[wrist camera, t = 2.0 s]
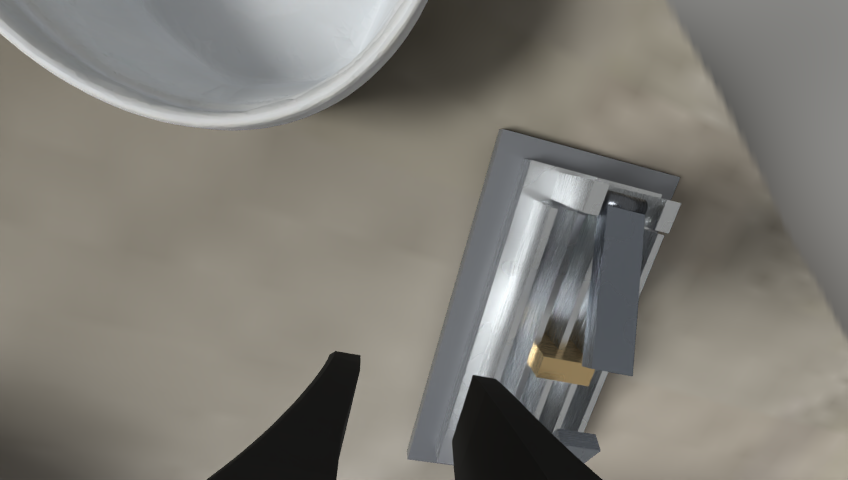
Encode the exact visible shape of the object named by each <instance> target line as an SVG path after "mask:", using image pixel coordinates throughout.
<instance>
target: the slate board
mask: <svg viewBox="0 0 848 480" xmlns="http://www.w3.org/2000/svg"><path fill="white" fill-rule="evenodd" d="M523 159H528V160H533V161H537V162H541V163H544V164H548V165H552V166H556V167H560V168H563V169H567V170H571V171H575V172H579V173H582V174H586V175H590V176H594V177H598V178H601V179H605V180H609V181H613V182H616V183H620V184H624V185H628V186H632V187H635V188H639V189H643V190H647V191H651V192H654V193H658V194H662V197H661V198H662V199H667V200H671V199H672V196H673V194H674V191H675V189H676V187H677V184H678V182H679V179H680V177H677V176H674V175H670V174H666V173H663V172H659V171H655V170H652V169H648V168H644V167H641V166H637V165H633V164H630V163H626V162H622V161H619V160H615V159H611V158H608V157H604V156H600V155H597V154H593V153H589V152H586V151H582V150H578V149H575V148H571V147H567V146H564V145H560V144H556V143H553V142H549V141H545V140H542V139H538V138H534V137H531V136H527V135H523V134H520V133H516V132H512V131H509V130H505V129H499V132H498V136H497V139H496V143H495V146H494V150H493V153H492V157H491V160H490V164H489V167H488V171H487V174H486V178H485V181H484V185H483V188H482V192H481V195H480V199H479V202H478V205H477V209H476V212H475V216H474V219H473V223H472V226H471V230H470V233H469V237H468V240H467V244H466V247H465V251H464V254H463V258H462V261H461V265H460V268H459V272H458V275H457V279H456V282H455V286H454V289H453V293H452V296H451V299H450V303H449V306H448V310H447V313H446V317H445V320H444V324H443V327H442V331H441V334H440V338H439V341H438V345H437V348H436V352H435V355H434V359H433V362H432V366H431V369H430V373H429V376H428V380H427V383H426V387H425V390H424V393H423V397H422V400H421V404H420V407H419V411H418V414H417V418H416V421H415V425H414V428H413V432H412V435H411V439H410V442H409V446H408V449H407V458H408V459H410V460H417V461H425V462H432V463H439V462H437V458H436V451H435V446H436V442H437V439H438V436H439V433H440V429H441V426H442V423H443V420H444V416H445V413H446V410H447V407H448V403H449V400H450V397H451V394H452V390H453V387H454V384H455V381H456V377H457V374H458V371H459V367H460V364H461V361H462V358H463V354H464V351H465V348H466V345H467V341H468V338H469V335H470V332H471V328H472V325H473V322H474V319H475V315H476V312H477V309H478V306H479V302H480V299H481V296H482V293H483V289H484V286H485V283H486V280H487V276H488V273H489V270H490V266H491V263H492V260H493V257H494V253H495V250H496V247H497V244H498V240H499V237H500V234H501V231H502V227H503V224H504V221H505V218H506V214H507V211H508V208H509V205H510V201H511V198H512V195H513V192H514V188H515V185H516V182H517V179H518V175H519V172H520V169H521V165H522V162H523ZM648 230H651V231H654V232H657V233H658V231H656V230H653V229H650V228H649V229H648ZM440 464H447V463H440ZM447 465H454V464H447Z"/></svg>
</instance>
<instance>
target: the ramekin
mask: <svg viewBox="0 0 848 480" xmlns="http://www.w3.org/2000/svg"><path fill="white" fill-rule="evenodd" d="M427 1H428V0H0V34H1V35H3V36H4V37H5V38H6V39H8V40H9V41H10V42H11V43H12V44H14V45H15V46H16V47H17V48H18V49H19V50H21V51H22V52H23V53H25V54H26V55H27V56H29V57H30V58H31V59H33V60H34V61H35V62H37V63H38V64H40V65H41V66H42V67H44V68H45V69H47V70H48V71H50V72H51V73H53V74H54V75H56V76H57V77H59V78H61V79H62V80H64V81H66V82H67V83H69V84H71V85H73V86H75V87H76V88H78V89H80V90H82V91H84V92H86V93H87V94H89V95H91V96H93V97H95V98H97V99H99V100H101V101H104V102H106V103H108V104H110V105H113V106H115V107H118V108H121V109H123V110H125V111H128V112H131V113H134V114H137V115H140V116H144V117H147V118H151V119H154V120H158V121H162V122H166V123H171V124H176V125H182V126H188V127H196V128H205V129H216V130H251V129H261V128H268V127H273V126H278V125H282V124H287V123H290V122H294V121H297V120H300V119H303V118H306V117H308V116H311V115H313V114H315V113H318V112H320V111H322V110H324V109H326V108H328V107H330V106H332V105H334V104H336V103H337V102H339V101H341V100H342V99H344V98H345V97H347V96H349V95H350V94H351V93H353V92H354V91H355V90H357V89H358V88H359V87H361V86H362V85H363V84H364V83H366V82H367V81H368V80H369V79H370V78H371V77H372V76H373V75H374V74H375V73H376V72H378V70H379V69H380V68H381V67H382V66H383V65H384V64H385V63H386V62H387V61H388V60H389V59H390V58H391V57H392V56H393V55H394V53H395V52H396V51H397V50H398V48H399V47H400V46H401V44H402V43H403V42H404V40H405V39H406V38H407V36H408V35H409V33H410V31H411V30H412V28H413V27H414V25H415V23H416V22H417V20H418V19H419V17H420V15H421V13H422V11H423V9H424V7H425V5H426V3H427Z"/></svg>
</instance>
